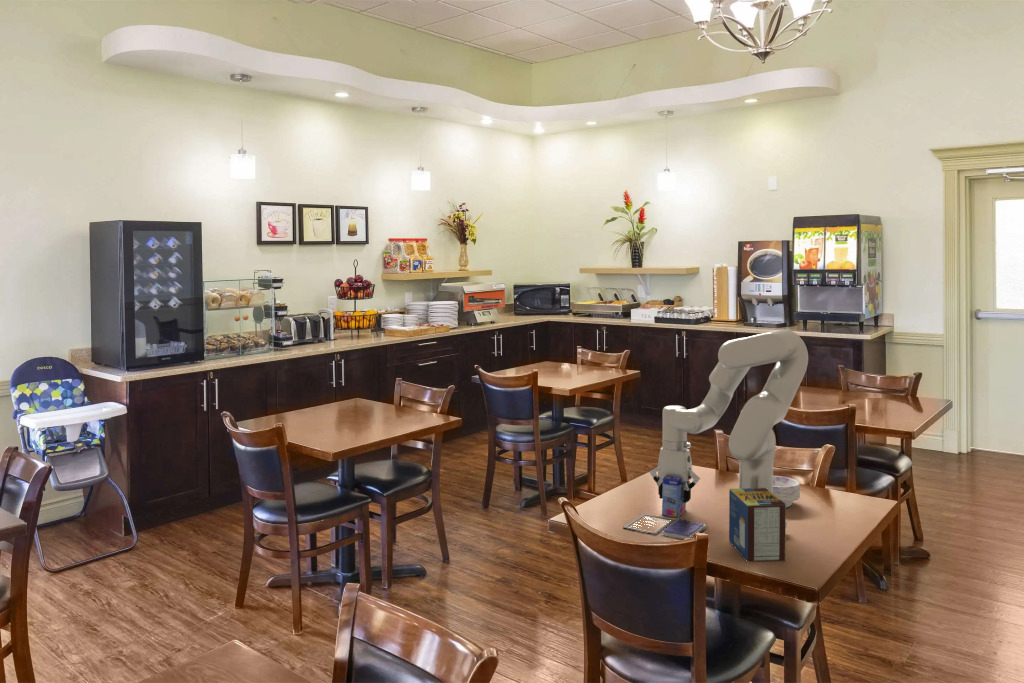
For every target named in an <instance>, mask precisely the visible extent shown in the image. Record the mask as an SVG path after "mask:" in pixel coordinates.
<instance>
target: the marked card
mask: <svg viewBox="0 0 1024 683" xmlns="http://www.w3.org/2000/svg"><path fill="white" fill-rule="evenodd" d="M647 516H648V517H647ZM649 516H650V517H654V518H655V519H656V518H657V519H658V520H659V519H660V520H661V519H662V521H663V522H659V521H655V520H653V519H652V518H650V517H649ZM644 517H645V518H646V519H647V520H648V519H649V520H652V521H654V522H657V523H658V522H659V523H662V524H666V525H664V526H663V527H661V528H660V529H658V530H657V531H655V532H651V531H646V530H641V529H636V528H637V527H636V526H637V525H638V524H635V523H637V521H638V520H639V519H641V518H644ZM645 518H644V519H645ZM670 520H671V521H670ZM640 521H641V520H640ZM664 521H665V522H664ZM666 521H667V522H669V523H667V522H666ZM674 521H675V522H676V521H677V520H676V518H670V517H666V516H665V517H664V516H659V515H653V514H648V513H643V514H641V515H640V516H638V517H637V518H635V519H634V520H632V521H630V522H628V523H627V524H625V525H623V527H622V529H623V528H628V529H632V530H637V531H644V532H648V533H653V534H657V533H658V532H660V531H661V530H662V531H663V529H664V528H665V529H666V527H667V526H668V527H669V525H670V524H671V525H672V523H673V522H674ZM643 522H644V521H643ZM645 522H646V523H647V522H648V523H651V524H653V525H654V524H655V523H654V522H651V521H645ZM675 522H674V523H675ZM633 523H634V524H633ZM638 523H640V522H638ZM632 524H633V525H636V526H633V527H636V528H631V527H632V526H631V527H628V526H630V525H632ZM641 524H642V523H641ZM644 525H645V524H644ZM646 525H649V526H652V525H650V524H646ZM655 525H656V524H655ZM657 525H658V524H657ZM638 526H641V525H638ZM660 526H661V525H660ZM641 527H642V526H641ZM653 527H654V526H653ZM638 528H639V527H638ZM648 528H649V527H648ZM632 530H631V531H632ZM637 531H636V532H637ZM662 531H661V532H662ZM661 532H660V533H661ZM658 534H659V533H658ZM658 534H657V535H658Z"/></svg>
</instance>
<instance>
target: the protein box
mask: <svg viewBox="0 0 1024 683" xmlns="http://www.w3.org/2000/svg"><path fill="white" fill-rule="evenodd" d="M728 493H729V494H728V495H729V497H728V498H729V509H728V510H729V511H728V512H729V514H728V520H729V522H728V523H729V524H728V526H729V527H728V528H729V529H728V531H729V532H728V534H729V535H728V542H729V541H730V542H731V543H732V544H733V545H732V544H731V543H730V542H729V543H730V544H731V545H732V546H733V547H734V546H735V547H736V549H737V550H738V551H739V552H740V553H741V554H742V556H743V557H744V558H745V559H746V560H747V561H757V562H776V561H779V562H780V561H781V562H782V561H783V562H784V561H786V529H785V526H786V522H787V521H786V518H787V517H786V515H787V514H786V512H787V511H786V510H787V509H786V508H787V507H786V504H785V503H784V502H783V501H781V500H780V499H779V498H777V497H776V496H775V495H774V494H772V493H771V492H770V491H768V490H767V489H766V488H741V489H739V488H729V492H728ZM735 547H734V548H735ZM736 549H735V550H736ZM737 550H736V551H737ZM738 551H737V552H738ZM739 552H738V553H739ZM740 553H739V554H740ZM741 554H740V555H741ZM742 556H741V557H742ZM743 557H742V558H743ZM744 558H743V559H744ZM745 559H744V560H745ZM746 560H745V561H746ZM747 561H746V562H747Z"/></svg>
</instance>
